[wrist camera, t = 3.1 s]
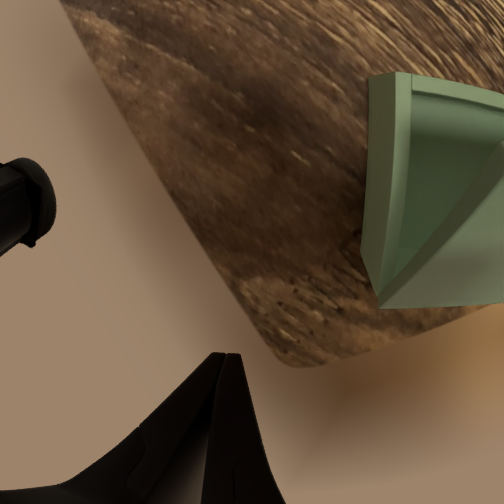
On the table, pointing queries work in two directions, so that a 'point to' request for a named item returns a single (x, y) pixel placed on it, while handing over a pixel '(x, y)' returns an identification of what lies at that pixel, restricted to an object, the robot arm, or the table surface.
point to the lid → (459, 251)
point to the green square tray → (420, 161)
